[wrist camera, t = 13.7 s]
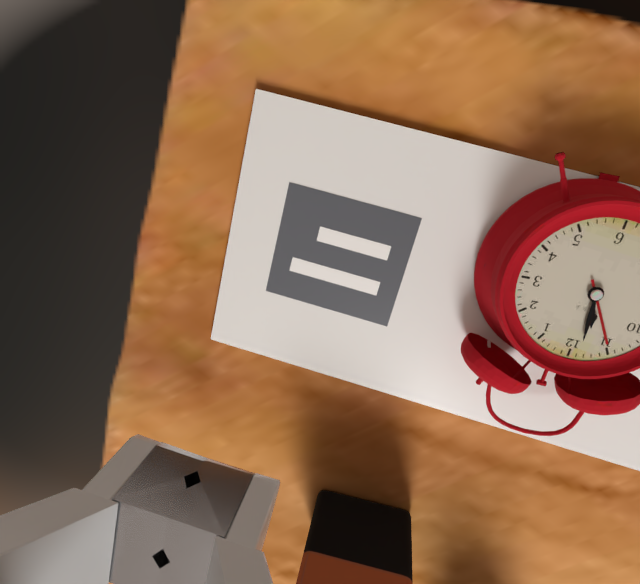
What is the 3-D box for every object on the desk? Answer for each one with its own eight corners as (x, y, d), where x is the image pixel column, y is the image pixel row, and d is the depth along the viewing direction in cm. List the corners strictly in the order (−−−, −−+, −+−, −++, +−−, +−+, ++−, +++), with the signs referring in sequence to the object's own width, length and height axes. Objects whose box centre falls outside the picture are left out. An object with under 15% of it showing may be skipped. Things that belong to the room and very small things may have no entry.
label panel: (808, 230, 24) (815, 231, 23) (658, 473, 29) (662, 478, 29) (257, 89, 26) (255, 88, 26) (212, 336, 32) (210, 339, 31)
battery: (319, 485, 34) (287, 616, 24) (412, 508, 33) (416, 652, 24) (311, 531, 35) (278, 671, 26) (399, 554, 34) (398, 707, 25)
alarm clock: (774, 183, 20) (670, 502, 22) (680, 200, 26) (604, 447, 28) (530, 136, 21) (448, 444, 23) (495, 163, 27) (432, 402, 29)
